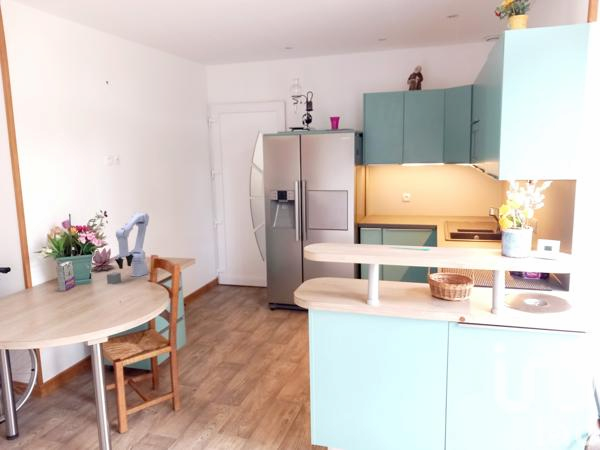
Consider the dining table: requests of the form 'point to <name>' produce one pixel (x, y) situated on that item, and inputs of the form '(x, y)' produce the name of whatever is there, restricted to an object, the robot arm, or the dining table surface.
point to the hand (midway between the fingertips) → (125, 267)
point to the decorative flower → (103, 260)
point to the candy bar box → (65, 276)
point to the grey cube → (113, 278)
